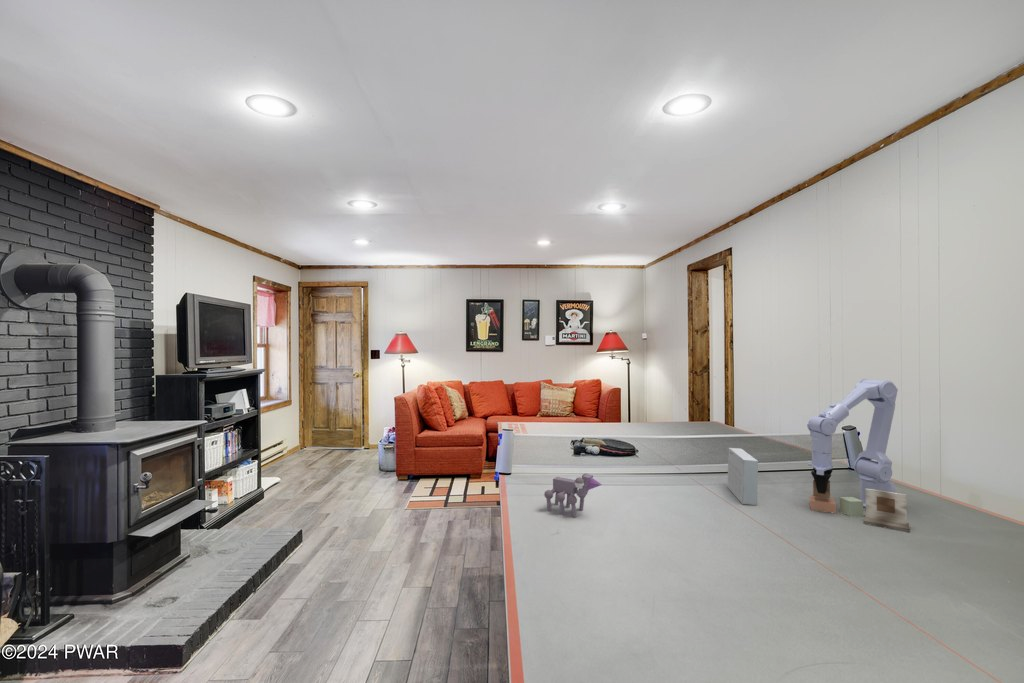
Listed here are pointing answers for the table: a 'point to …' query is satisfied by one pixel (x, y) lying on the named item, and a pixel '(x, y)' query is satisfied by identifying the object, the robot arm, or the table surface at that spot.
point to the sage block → (851, 506)
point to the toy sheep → (570, 491)
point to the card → (886, 510)
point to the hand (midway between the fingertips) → (822, 491)
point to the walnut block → (826, 495)
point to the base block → (822, 504)
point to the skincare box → (742, 476)
